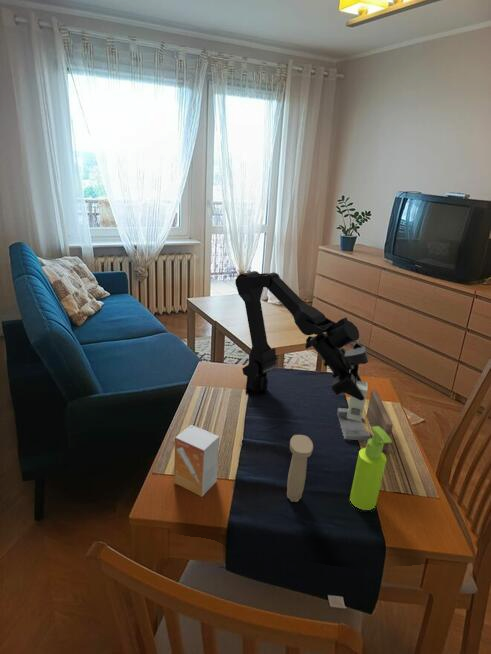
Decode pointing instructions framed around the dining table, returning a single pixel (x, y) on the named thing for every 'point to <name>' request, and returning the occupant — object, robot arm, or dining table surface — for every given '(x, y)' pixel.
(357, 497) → the soap dispenser
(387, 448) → the wall board
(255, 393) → the robot arm
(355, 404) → the sage green block
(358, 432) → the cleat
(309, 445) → the handle
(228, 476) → the dining table surface
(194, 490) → the small box
